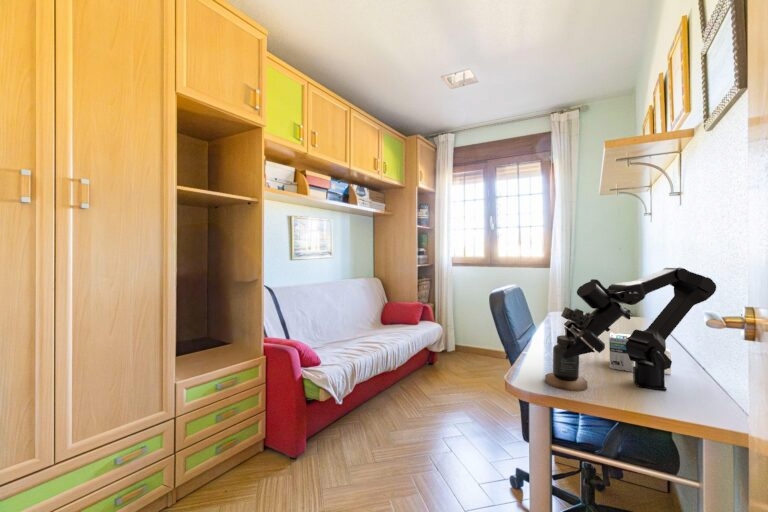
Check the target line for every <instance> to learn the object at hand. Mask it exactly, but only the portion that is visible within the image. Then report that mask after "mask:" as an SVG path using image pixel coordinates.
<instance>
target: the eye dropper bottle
mask: <svg viewBox="0 0 768 512" xmlns="http://www.w3.org/2000/svg"><path fill="white" fill-rule="evenodd" d="M664 353H665V354H666V356H667V357H668V358H669V359H670V360H671V361H672V352H671V351H670V349H669V348H666V350H665V352H664ZM666 374H667V375H666ZM671 374H672V366H671V367H670V368H669V369H667V370H664V375H666V376H668V375H671Z"/></svg>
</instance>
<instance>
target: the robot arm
mask: <svg viewBox="0 0 768 512" xmlns="http://www.w3.org/2000/svg"><path fill="white" fill-rule="evenodd" d="M667 286H672V287H673V297H672V298H671V299H670V300H669V302H668V303H667V304H666V306H665V307H664V308H663V309H662V310H661V311H660V313H659V314H658V315H657V316H656V317H655V319H654V320H653V321H652V323H650V324H649V326H648V327H647V328H646V329H645V330H641V329H634V330H633V331H632V332H631V334H630V335H631V336H630V337H628V338H627V339H628V341H627V342H626V344H625V346H626V350H627V353H628V356H629V359H630V360H631V361H634V365H635V366H633V372H632V380H633V382H634V383H635V384H636V385H637V387H639V388H640V387H641V388H647V389H653V390H661V391H668V390H667V389H668V388H667V387H666V386H665V385H666V384H665V379H666V378H665V374H664V370H667V369H669V368H670V367H671V368H672V363H673V361H672V359H671V360H670V359H669V358H668V357H667V356H666V354H665V353H664V352H665V350H666V349H667V348H666V347H667V346H666V345H667V343H666V340H667V339H668V337H669V336H670V335H671V334H672V333H673V332H674V331H675V329H676V328H677V327H678V325H679V324H680V323H681V322H682V320H683V319H684V318H685V317H686V316H687V314H688V313H689V311H691V309H692V308H693V307H694V306H695V305H698V304H700V303H703V302H706V301H707V300H708V299H709V298H711V297H712V296H713V295H714V294H715V293H716V290H717V284H716V282H715V281H714V280H713V279H712V278H711V277H709V276H708V277H707V276H704V275H701V274H699V273H696V272H692V271H690V270H687V269H686V268H683V267H680V266H677V267H676V266H671V267H669V266H666V267H664V268H663V269H662V270H659V271H656V272H654V273H651V274H649V275H646V276H643V277H641V278H638V279H636V280H633V281H632V280H631V281H623V282H615V283H612V284H610V285H609V286H608V287H607V288H606V287H605V286H604V285H603V284H602V283H601V281H600V280H598V279H595V278H591V279H590V281H587V282H585V283H584V284H582V285H580V286H579V287H578V288H577V290H576V295H577V296H578V297H579V298H580V299H581V300H582V301H583V302H584V303H585V304H587V306H589V307H590V308H591V309H594V310H592V312H586V313H584V311H583V310H581V309H579V308H574V309H572V308H569V307H567V306H565V307H564V309H563V311H562V313H561V315H560V316H561V317H563V319H566V320H567V321H566V322H564V323H563V325H564V332H565V334H564V336H571V337H573V338H575V341H574V342H573V344H572V345H571V346H570V347H569V348H568V349H567V351H566V352H565V353H564V354H563V357H564V358H570V357H574V356H577V355H579V356H581V355H584V354H589V353H595V352H597V353H598V354H600V353H602V352H603V351H604V350H606V349H605V348H606V343H604V342H603V341H602V339H600V338H599V336H600V335H602V334H603V333H604V332H607V333H608V332H610V331H611V328H610V327H611V326H612V325H614V324H615V323H616V321H618V320H619V319H620V318H622V317H623V318H624V319H626V320H631V310H630V309H629V308H627V307H623V306H622V305H629V306H634V305H636V304H638V303H640V302H642V301H643V300H644V299H645V298H646V296H647V295H648V294H649V293H651V292H652V293H653V292H655V291H657V290H660V289H661V288H665V287H667ZM621 304H622V305H621Z"/></svg>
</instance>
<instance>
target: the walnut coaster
mask: <svg viewBox="0 0 768 512" xmlns="http://www.w3.org/2000/svg"><path fill="white" fill-rule="evenodd" d="M544 378H545V379H544V380H545V383H546V384H547V385H549V386H551V387H552V388H553V387H554V388H555V389H560V390H564V391H570V392H581V391H582V392H583V391H586V390H587V389H588V381H587V379H585V378H583V377H581V376H579V378H578V379H577V380H576V381H564V380H560V379H558V378H556V377H555V376H554V375H553V372H549V373H546V374H545V376H544Z"/></svg>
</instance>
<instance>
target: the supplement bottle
mask: <svg viewBox="0 0 768 512" xmlns="http://www.w3.org/2000/svg"><path fill="white" fill-rule="evenodd" d="M574 341H575V338H573V337H571V336H565V334H564V335H563V334H560V335H557V337H556V344H555V345H554V346H553V349H552V373H553V375H554V376H555V377H556V378H558V379H560V380H564V381H576V380H577V379H578V378H579V377H580V355H577V356H574V357H570V358H564V357H563V354H564V353H565V352H566V351H567V349H568V348H569V347H570V346H571V345H572V344H573V342H574Z"/></svg>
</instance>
